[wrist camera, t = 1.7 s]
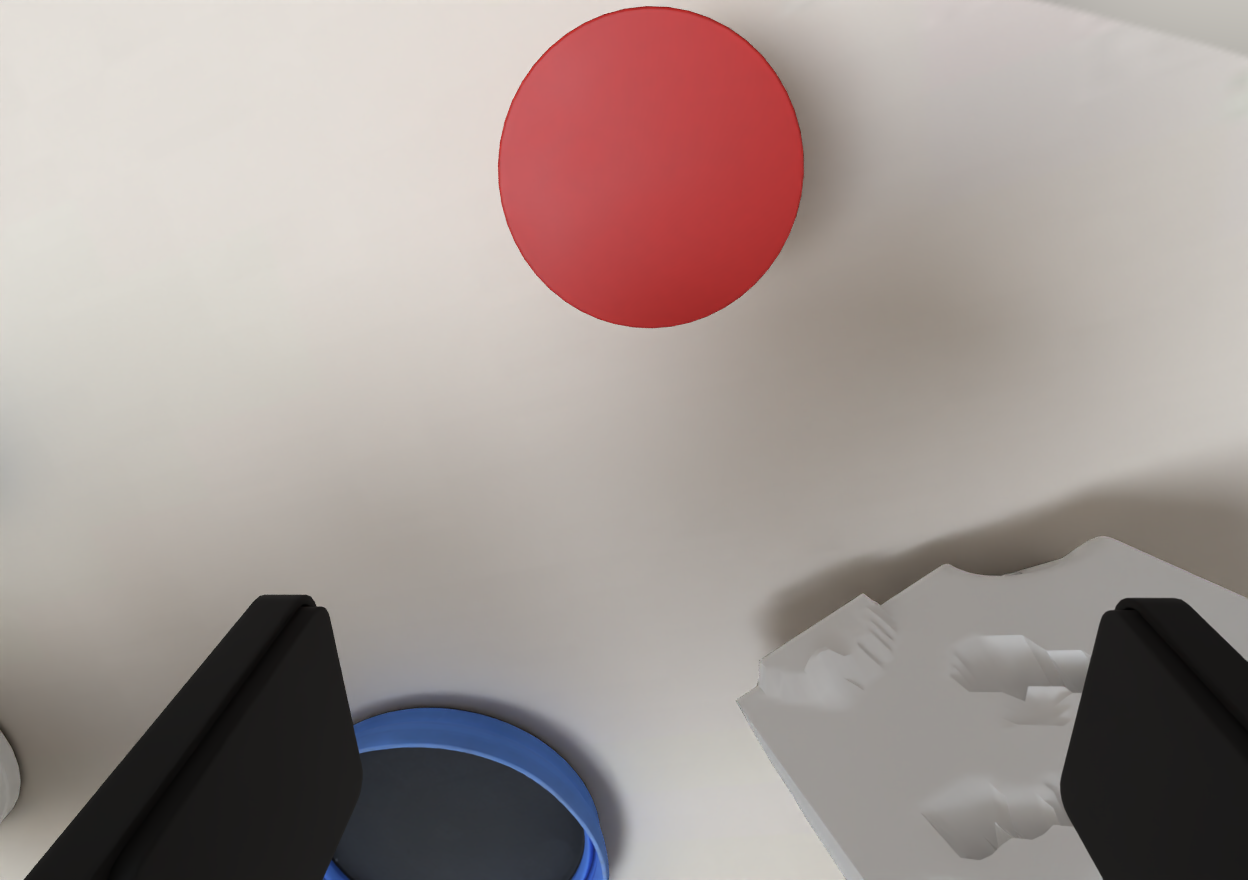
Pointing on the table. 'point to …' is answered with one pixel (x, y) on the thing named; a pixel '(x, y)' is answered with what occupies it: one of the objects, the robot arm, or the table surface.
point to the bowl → (465, 804)
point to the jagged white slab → (956, 713)
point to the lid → (651, 167)
